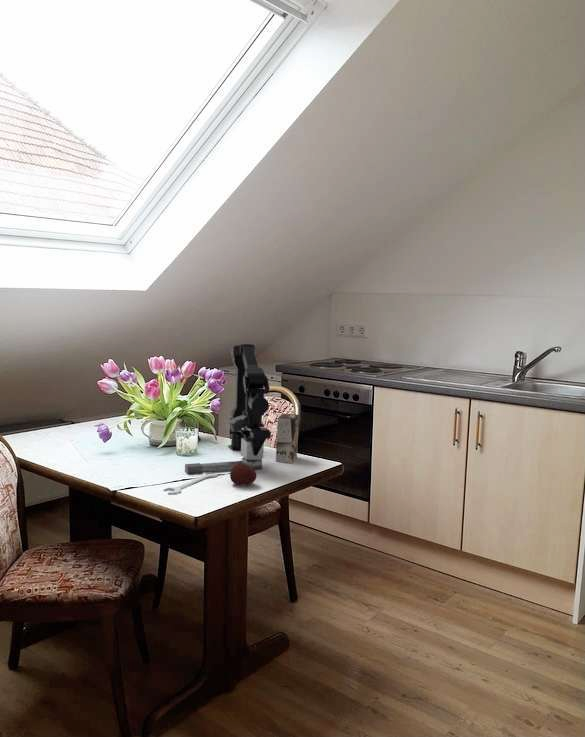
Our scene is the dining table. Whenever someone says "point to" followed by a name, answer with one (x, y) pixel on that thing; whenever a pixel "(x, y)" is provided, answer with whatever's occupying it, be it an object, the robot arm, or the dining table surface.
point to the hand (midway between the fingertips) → (252, 453)
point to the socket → (249, 449)
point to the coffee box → (287, 438)
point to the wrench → (189, 483)
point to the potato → (242, 474)
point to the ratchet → (221, 466)
